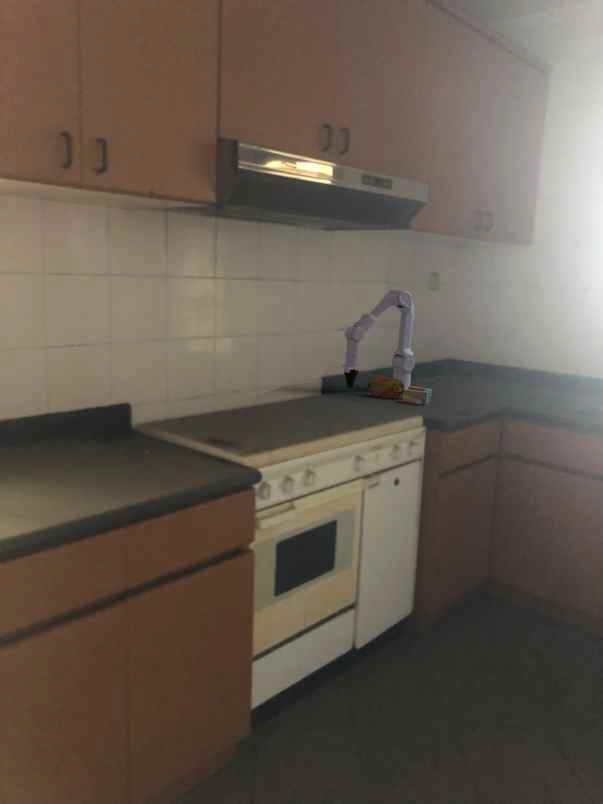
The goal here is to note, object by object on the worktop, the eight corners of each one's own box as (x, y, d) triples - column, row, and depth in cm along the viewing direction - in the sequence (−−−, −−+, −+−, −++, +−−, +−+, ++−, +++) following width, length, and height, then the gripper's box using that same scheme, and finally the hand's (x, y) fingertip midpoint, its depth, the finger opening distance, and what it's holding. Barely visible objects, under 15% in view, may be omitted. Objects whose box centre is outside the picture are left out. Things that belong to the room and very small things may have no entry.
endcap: (408, 397, 276) (409, 386, 275) (430, 401, 273) (432, 389, 272) (402, 401, 267) (403, 389, 266) (426, 405, 264) (427, 392, 263)
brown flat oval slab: (366, 395, 275) (368, 375, 274) (368, 394, 278) (369, 374, 277) (402, 400, 271) (404, 379, 269) (403, 398, 274) (406, 378, 272)
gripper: (348, 352, 285) (346, 383, 288) (338, 356, 272) (335, 388, 274) (364, 354, 283) (361, 386, 285) (354, 358, 269) (351, 390, 272)
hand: (349, 387), depth 280 cm, fingers closed
